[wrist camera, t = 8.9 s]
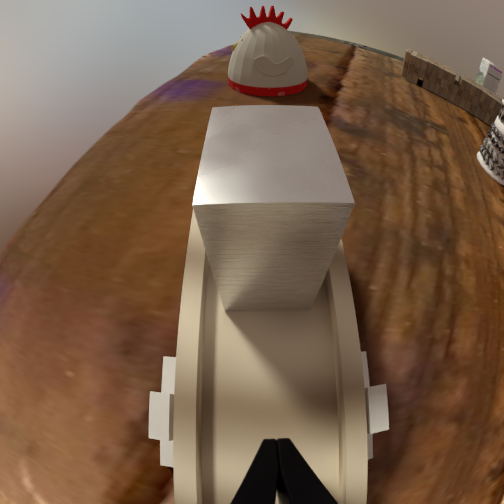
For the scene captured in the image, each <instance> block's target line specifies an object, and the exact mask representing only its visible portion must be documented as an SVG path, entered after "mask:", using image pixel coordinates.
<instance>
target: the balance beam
mask: <svg viewBox="0 0 504 504" xmlns="http://www.w3.org/2000/svg"><path fill="white" fill-rule="evenodd" d="M272 438H274V439H276V440H277V439H278V438H290V439H291V441H292V442H293V444H294V445H295V446H296V448H297V449H298V451H299V452H300V453H301V455H302V456H303V458H304V459H305V460H306V462H307V463H308V465H309V466H310V467H311V469H312V470H313V471H314V473H315V474H316V475H317V477H318V478H319V479H320V481H321V482H322V483H323V485H324V486H325V487H326V488H327V490H328V491H329V492H330V493H331V495H332V496H333V497H334V499H335V500H336V501H337V502H338V504H366V502H367V475H368V447H367V418H366V401H365V388H364V377H363V367H362V358H361V349H360V341H359V334H358V327H357V320H356V313H355V307H354V301H353V295H352V290H351V284H350V279H349V273H348V268H347V263H346V258H345V254H344V249H343V244H342V240H340V242H339V245H338V247H337V250H336V252H335V255H334V257H333V259H332V262H331V264H330V267H329V269H328V271H327V273H326V276H325V278H324V280H323V283H322V285H321V287H320V289H319V292H318V294H317V296H316V298H315V300H314V303H313V305H312V307H311V309H309V310H285V311H237V312H225V311H224V308H223V305H222V302H221V299H220V295H219V292H218V289H217V286H216V283H215V280H214V277H213V273H212V270H211V267H210V264H209V260H208V257H207V254H206V250H205V247H204V244H203V240H202V237H201V234H200V230H199V227H198V223H197V220H196V216H195V213H194V209H193V214H192V221H191V227H190V234H189V241H188V248H187V255H186V263H185V271H184V279H183V288H182V297H181V307H180V317H179V328H178V341H177V354H176V370H175V390H174V421H173V469H174V497H175V504H230V503H231V501H232V500H233V498H234V496H235V494H236V492H237V490H238V489H239V487H240V485H241V483H242V481H243V479H244V477H245V475H246V473H247V471H248V469H249V467H250V465H251V463H252V461H253V459H254V457H255V455H256V453H257V451H258V449H259V447H260V445H261V443H262V441H263V439H272ZM275 504H279V502H278V496H277V494H276V502H275Z"/></svg>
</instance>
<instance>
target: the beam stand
mask: <svg viewBox="0 0 504 504" xmlns="http://www.w3.org/2000/svg"><path fill="white" fill-rule="evenodd" d="M361 358H362V367H363V377H364V388H365V401H366V418H367V447H368V459H372V458H373V434H372V433H377V432H381V431H385V430H389V417H388V401H387V389H386V384H382V385H377V386H371V387H370V384H369V373H368V364H367V355H366V351H363V352H361ZM175 370H176V357H164V358H163V373H162V390H161V393H159V392H151V391H150V404H149V438H151V439H157V440H160V465H163V466H169V467H173V421H174V390H175Z"/></svg>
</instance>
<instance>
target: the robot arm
mask: <svg viewBox="0 0 504 504" xmlns="http://www.w3.org/2000/svg"><path fill="white" fill-rule="evenodd" d="M276 494H277V496H278V502H279V504H338V502H337V501H336V500H335V499H334V497H333V496H332V495H331V493H330V492H329V491H328V490H327V488H326V487H325V486H324V485H323V483H322V482H321V481H320V479H319V478H318V477H317V475H316V474H315V473H314V471H313V470H312V469H311V467H310V466H309V465H308V463H307V462H306V460H305V459H304V458H303V456H302V455H301V453H300V452H299V451H298V449H297V448H296V446H295V445H294V444H293V442H292V441H291V439H290V438H278V439H277V440H276V439H274V438H272V439H263V441H262V443H261V445H260V447H259V449H258V451H257V453H256V455H255V457H254V459H253V461H252V463H251V465H250V467H249V469H248V471H247V473H246V475H245V477H244V479H243V481H242V483H241V485H240V487H239V489H238V490H237V492H236V494H235V496H234V498H233V500H232V501H231V503H230V504H275V502H276Z"/></svg>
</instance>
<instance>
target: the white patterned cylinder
mask: <svg viewBox="0 0 504 504" xmlns="http://www.w3.org/2000/svg"><path fill="white" fill-rule="evenodd" d="M502 103H503V107H502V109H501V111H500V114H499V116H497V118H496V120H495V122H494V123H493V124H491V129H492V130H490V131H488V137H489V138H485V139H484V140H483V143H484V144H483V145H481V146H480V151H479V152H478V153H477V159H478V161H479V163H480V165H481V166H482V167H483V168H484V170H485V171H486V172H487V173H488V174H489V175H490V176H491V177H492V178H493V179H494V180H496V181H497V182H498V183H499V184H501V185H503V186H504V99H503V100H502Z"/></svg>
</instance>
